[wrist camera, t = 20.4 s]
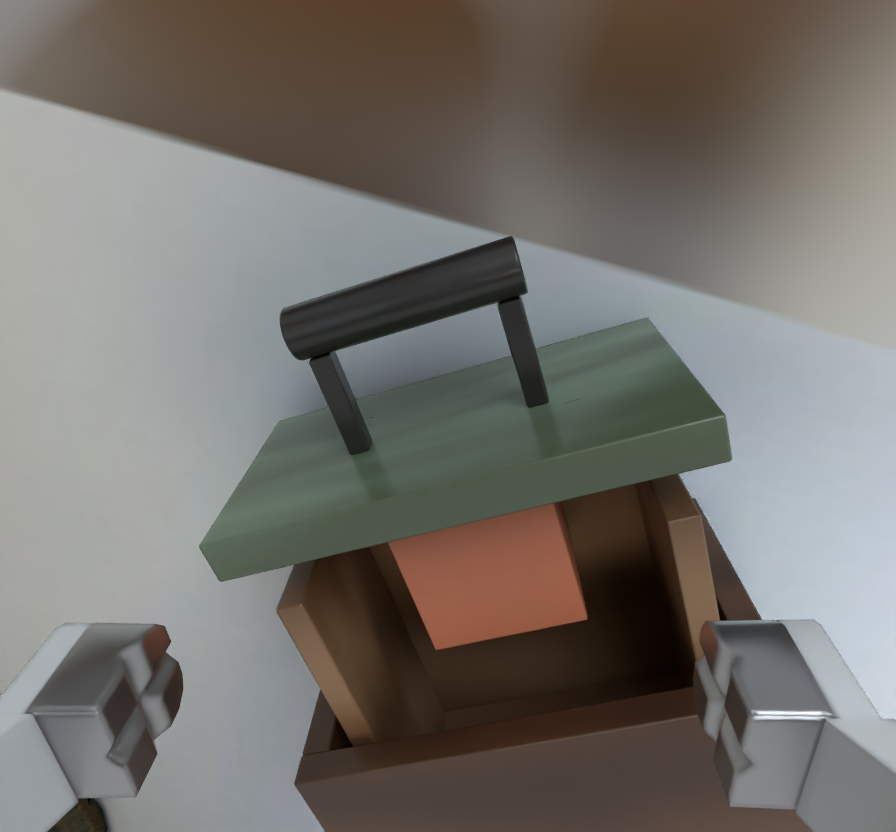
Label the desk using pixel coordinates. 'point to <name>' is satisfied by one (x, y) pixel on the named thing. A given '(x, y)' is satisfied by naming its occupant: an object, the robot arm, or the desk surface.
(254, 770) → the desk surface
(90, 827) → the owl figurine
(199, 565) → the desk surface
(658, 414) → the drawer
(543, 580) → the block
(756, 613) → the cabinet
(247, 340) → the desk surface
